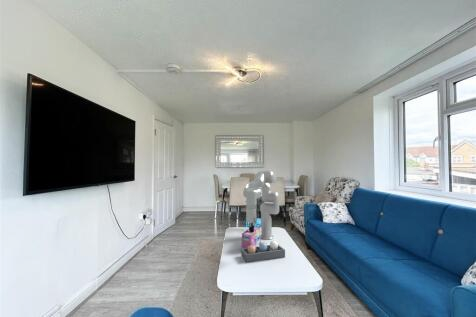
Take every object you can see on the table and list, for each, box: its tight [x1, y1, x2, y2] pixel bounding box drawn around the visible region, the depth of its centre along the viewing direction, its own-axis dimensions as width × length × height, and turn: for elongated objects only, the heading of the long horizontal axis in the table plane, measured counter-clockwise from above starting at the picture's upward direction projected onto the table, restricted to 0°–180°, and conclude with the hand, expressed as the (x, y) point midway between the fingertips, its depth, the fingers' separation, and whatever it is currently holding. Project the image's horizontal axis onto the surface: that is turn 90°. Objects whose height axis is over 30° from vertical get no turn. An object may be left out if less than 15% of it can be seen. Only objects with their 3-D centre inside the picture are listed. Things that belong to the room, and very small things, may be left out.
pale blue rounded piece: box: [258, 241, 268, 252], centre depth 165 cm, size 6×6×6 cm
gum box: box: [241, 226, 262, 248], centre depth 185 cm, size 24×8×14 cm, turn 154°
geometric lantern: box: [245, 198, 265, 229], centre depth 230 cm, size 16×16×35 cm
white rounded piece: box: [269, 240, 279, 251], centre depth 168 cm, size 6×6×6 cm
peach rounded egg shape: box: [248, 245, 255, 254], centre depth 163 cm, size 6×6×6 cm
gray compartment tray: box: [240, 244, 286, 264], centre depth 165 cm, size 12×30×6 cm, turn 107°
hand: (251, 231), depth 163 cm, fingers closed
